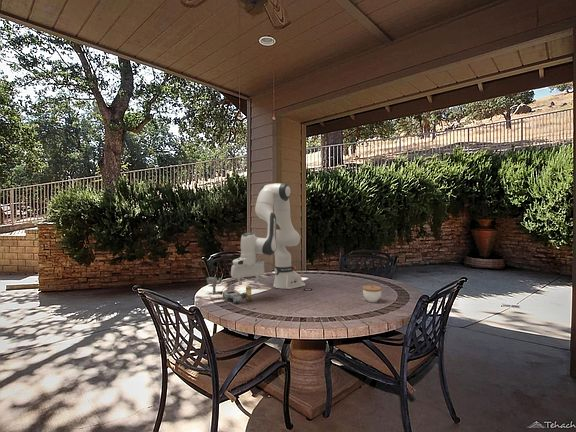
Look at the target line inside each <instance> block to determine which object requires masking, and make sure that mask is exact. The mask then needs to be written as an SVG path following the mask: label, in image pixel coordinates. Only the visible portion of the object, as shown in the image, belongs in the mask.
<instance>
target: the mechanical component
mask: <svg viewBox="0 0 576 432" xmlns="http://www.w3.org/2000/svg"><path fill="white" fill-rule="evenodd" d="M205 280H206V284H207V285H211V287H212V294H213V295H214V294H216V287H217V285H220V284H221V283H222V281H223V279H222V278H221V277H219V278H217V277H213V276H212V277H211V276H208V277H206V278H205Z"/></svg>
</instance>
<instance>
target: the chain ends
mask: <svg viewBox="0 0 576 432" xmlns="http://www.w3.org/2000/svg"><path fill="white" fill-rule="evenodd" d="M222 299H223V300H224V301H226V302H232V303H233V304H234V305H239V304H241V301H242V300H243V299H246V291H244V292H242V293H240V292H238V291H237V290H234V289H233V290H225V291H222Z"/></svg>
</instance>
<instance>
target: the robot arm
mask: <svg viewBox="0 0 576 432" xmlns="http://www.w3.org/2000/svg"><path fill="white" fill-rule="evenodd" d="M258 192H259V193H258V195H257V199H256V202H255V206H254V208H255V209H254V211H255V214H256V216H257V217H258V218H259V219H261V220H263V221H265V222H266V224H267V234H266V237H258V236H256V235H255V233H254V232H244V233H243V234H242V235H241V238H240V257H238V258H235V259H233V260H232V264H231V269H230V276H231V277H232V279H233V278H234V279H236V280H237V282H238V285H239V286H242V285H243V281H241V278H245V277H255V279H253V283H254V284H258V279H259V278H260V276H264V275H265V261H264V260H263V259H256V258H257V257H256V255H257V254H258V255H265V256H272V255H273V254H274V260H275V261H274V264H275V265H274V281H273V285H272V287H273V288H275V289H276V288H277V289H286V290H292V289H296V288H300V287H301V288H302V287H305V286H306V283H305V282H304V281H303V279H302V276H301V275H300V274H298V273H297V272H296V271H294V270H296V269H297V267H296V266H294V265H292V254H291V253H290V251H288V250H287V248H286V247H295V246H298V245H299V243H300V242H301V236H300V234H299V232H298V231H297V230H296V229H295V228H294V226H293V224H292V218H291V217H292V216H291V205H290V198H291V194H292V190H291V186H290V185H289V184H288V183H284V182H282V183H280V182H279V183H276V182H275V183H269V184H268V183H267V184H263V185H261V186H260V188H259V191H258ZM277 225H278V227H279V229H277Z"/></svg>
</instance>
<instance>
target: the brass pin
mask: <svg viewBox="0 0 576 432" xmlns="http://www.w3.org/2000/svg"><path fill="white" fill-rule="evenodd" d="M245 292H246V298H245V301H246V302H251V301H252V286H251V285H249V286H248V285H247V286H245Z"/></svg>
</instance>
